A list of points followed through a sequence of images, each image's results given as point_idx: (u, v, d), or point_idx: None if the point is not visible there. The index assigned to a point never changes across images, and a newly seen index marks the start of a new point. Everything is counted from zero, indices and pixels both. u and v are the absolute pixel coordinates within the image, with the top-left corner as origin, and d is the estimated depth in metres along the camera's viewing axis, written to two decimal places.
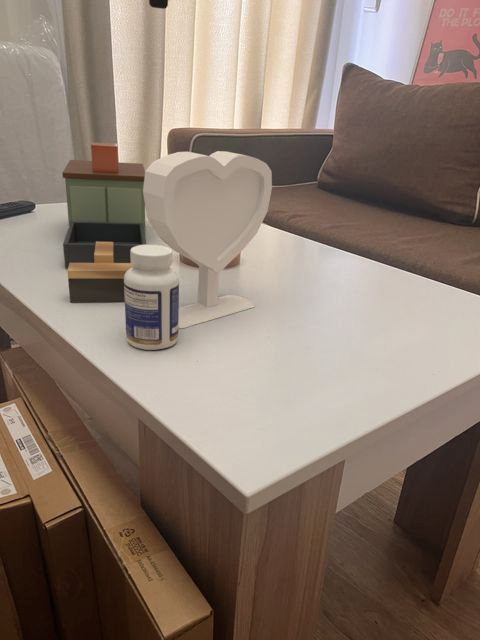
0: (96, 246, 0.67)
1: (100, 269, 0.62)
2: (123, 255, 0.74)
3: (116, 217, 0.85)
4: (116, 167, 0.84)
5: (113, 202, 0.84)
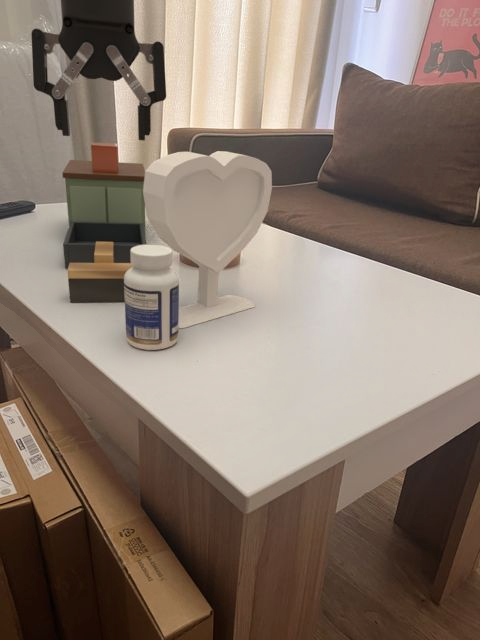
0: (96, 246, 0.67)
1: (100, 269, 0.62)
2: (123, 255, 0.74)
3: (116, 217, 0.85)
4: (116, 167, 0.84)
5: (113, 202, 0.84)
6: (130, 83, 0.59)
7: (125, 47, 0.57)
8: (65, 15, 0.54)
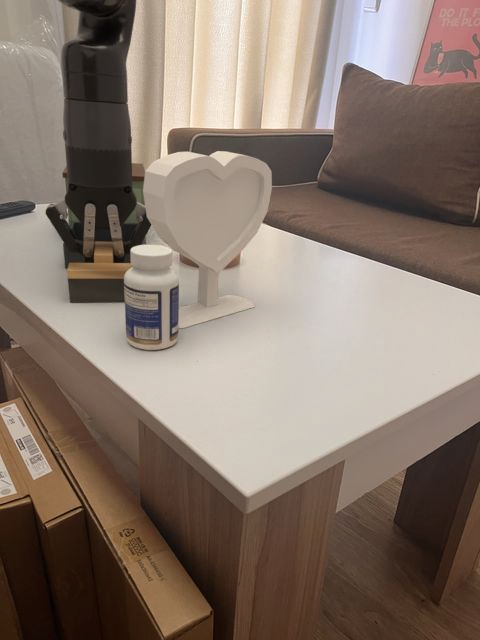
0: (96, 246, 0.67)
1: (100, 269, 0.62)
2: None
3: None
4: None
5: None
6: (113, 237, 0.65)
7: (124, 203, 0.64)
8: (70, 182, 0.61)
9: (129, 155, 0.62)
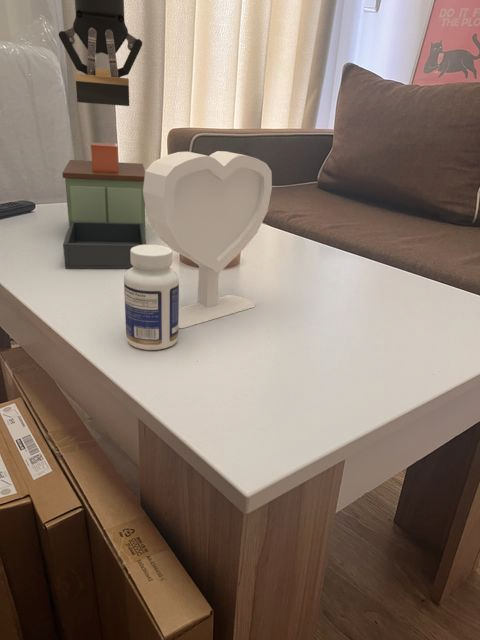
0: None
1: (100, 75, 0.82)
2: (123, 255, 0.74)
3: (116, 217, 0.85)
4: (116, 167, 0.84)
5: (113, 202, 0.84)
6: (110, 59, 0.86)
7: (118, 31, 0.85)
8: (77, 9, 0.82)
9: None
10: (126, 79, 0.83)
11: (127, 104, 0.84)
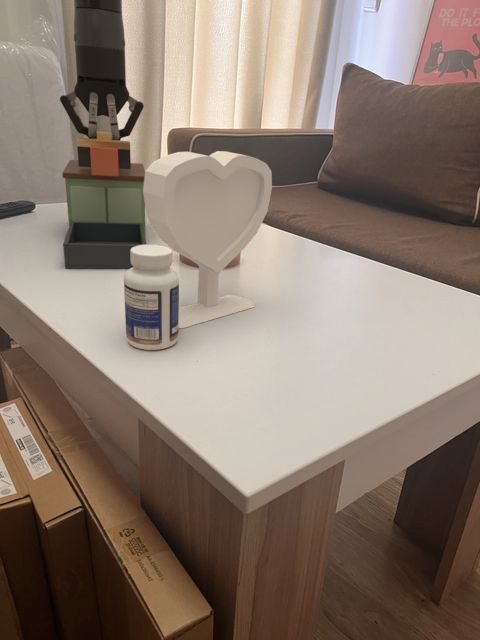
0: (98, 130, 0.87)
1: (101, 140, 0.82)
2: (123, 255, 0.74)
3: (116, 217, 0.85)
4: (116, 171, 0.80)
5: (113, 202, 0.84)
6: (111, 121, 0.86)
7: (119, 94, 0.85)
8: (79, 75, 0.82)
9: (123, 55, 0.82)
10: (128, 143, 0.83)
11: (128, 167, 0.84)
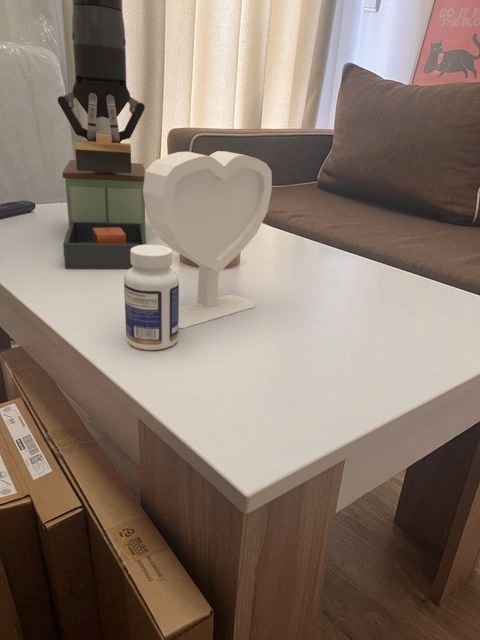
0: (97, 132, 0.83)
1: (101, 143, 0.78)
2: (123, 255, 0.74)
3: (116, 217, 0.85)
4: (122, 232, 0.76)
5: (113, 202, 0.84)
6: (111, 123, 0.82)
7: (119, 95, 0.81)
8: (77, 75, 0.78)
9: (123, 54, 0.79)
10: (128, 146, 0.79)
11: (129, 171, 0.81)
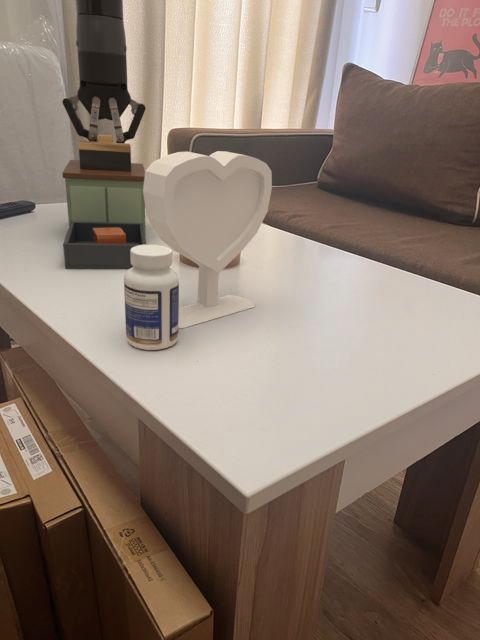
0: (99, 133, 0.89)
1: (103, 143, 0.84)
2: (123, 255, 0.74)
3: (116, 217, 0.85)
4: (122, 232, 0.76)
5: (113, 202, 0.84)
6: (115, 125, 0.87)
7: (121, 98, 0.86)
8: (82, 79, 0.83)
9: (124, 60, 0.84)
10: (128, 146, 0.85)
11: (129, 170, 0.86)
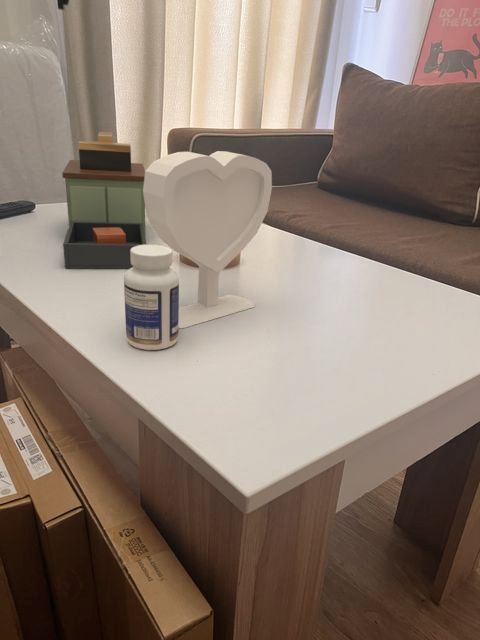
0: (99, 133, 0.89)
1: (103, 143, 0.84)
2: (123, 255, 0.74)
3: (116, 217, 0.85)
4: (122, 232, 0.76)
5: (113, 202, 0.84)
6: None
7: None
8: None
9: None
10: (128, 146, 0.85)
11: (129, 170, 0.86)
